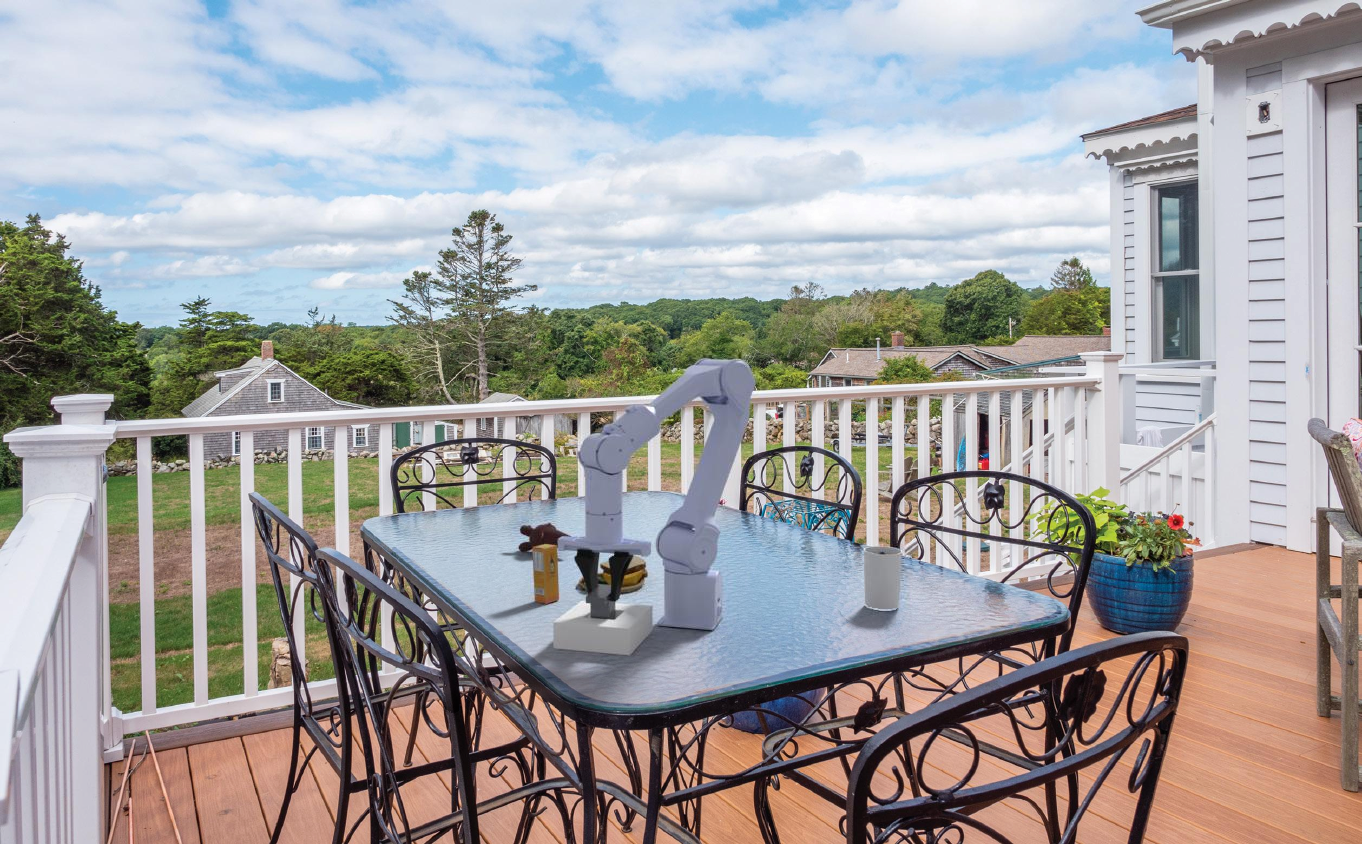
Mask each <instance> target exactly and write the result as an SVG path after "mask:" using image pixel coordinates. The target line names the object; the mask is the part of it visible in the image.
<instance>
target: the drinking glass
mask: <svg viewBox="0 0 1362 844" xmlns="http://www.w3.org/2000/svg"><path fill="white" fill-rule="evenodd" d="M902 561H903V550H902V549H900V548H897V547H892V546H885V545H884V546H880V545H878V546H874V545H873V546H868V547H864V548H863V570H864V572H863V575H864V577H863V581H864V605H865V604H866V605H867V606H868V607H872V608H878V609H893V608H897V607H898V606H899V604H900V603H899V602H900V589H901V577H902V564H903V563H902ZM898 608H899V607H898Z"/></svg>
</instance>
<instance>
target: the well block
mask: <svg viewBox="0 0 1362 844" xmlns="http://www.w3.org/2000/svg"><path fill="white" fill-rule="evenodd" d="M653 613H654V611H653V605H643V604H632V603H621V602H619V603H618V602H615V620H609V619H598V618H591V617H590V603H586V600H580V602H578V603H577V604H575V605H574V606H572V607H571V608H570V609H569V610H568V611H566V612H565V613H564V614H562V615H561V616H559V617H558V618H557V619H556V620H554V621H553V623H552V624H553V625H552V626H553V628H552V629H553V632H552V633H553V641H552V642H553V649H555V650H556V649H557V650H567V651H568V650H569V651H577V652H578V651H579V652H588V653H589V652H590V653H600V654H610V655H611V654H612V655H621V656H631V655H632V653H633V652H635V650H636V649H637V648H638V647H639V646H640V645H641V644H642V643H643V641H645V639H646V638H647V637H649V635H650V634H651V633H652V632H653V625H654V624H653V619H654V618H653Z"/></svg>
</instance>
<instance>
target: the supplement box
mask: <svg viewBox="0 0 1362 844" xmlns="http://www.w3.org/2000/svg"><path fill="white" fill-rule="evenodd" d="M531 551H532V567H533V568H532V570H533V571H532V572H533V574H532V575H533V590H534V591H533V593H534V602H536V603H539V604H540V603H541V604H545V605H547V604H550V603H553V602H555V601H559V600H560V590H559V589H560V588H559V587H560V586H559V585H560V584H559V583H560V582H559V561H558V556H559V555H558V548H557V546H556V545H550V544H543V545H540V546H536V547H533V548H532V550H531Z"/></svg>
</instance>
